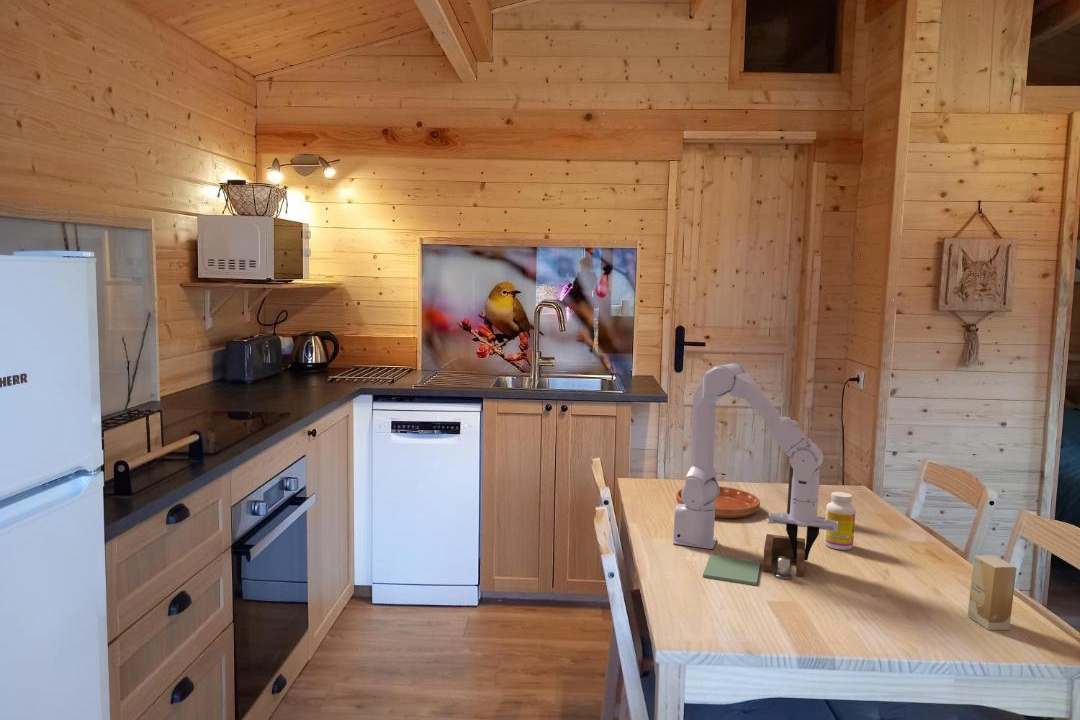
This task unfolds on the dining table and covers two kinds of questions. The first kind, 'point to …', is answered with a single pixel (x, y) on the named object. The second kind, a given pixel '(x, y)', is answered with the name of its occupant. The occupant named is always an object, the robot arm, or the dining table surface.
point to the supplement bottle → (840, 521)
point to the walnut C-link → (783, 552)
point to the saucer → (731, 503)
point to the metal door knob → (783, 568)
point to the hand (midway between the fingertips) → (800, 558)
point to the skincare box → (991, 592)
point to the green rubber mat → (732, 569)
